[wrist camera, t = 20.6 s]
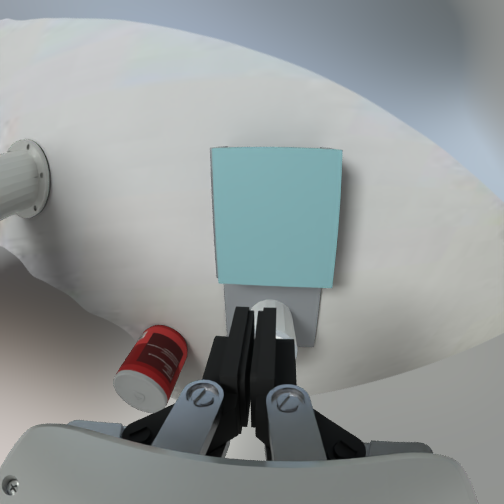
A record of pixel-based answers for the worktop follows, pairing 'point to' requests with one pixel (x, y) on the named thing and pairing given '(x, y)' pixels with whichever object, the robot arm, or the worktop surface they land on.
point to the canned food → (151, 369)
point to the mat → (295, 298)
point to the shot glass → (278, 319)
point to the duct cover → (276, 215)
